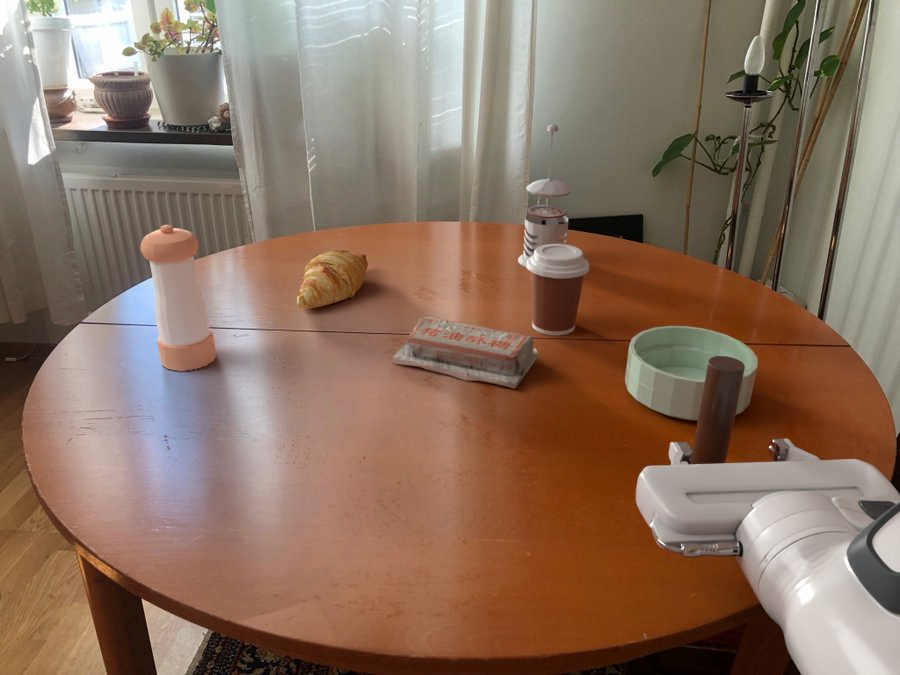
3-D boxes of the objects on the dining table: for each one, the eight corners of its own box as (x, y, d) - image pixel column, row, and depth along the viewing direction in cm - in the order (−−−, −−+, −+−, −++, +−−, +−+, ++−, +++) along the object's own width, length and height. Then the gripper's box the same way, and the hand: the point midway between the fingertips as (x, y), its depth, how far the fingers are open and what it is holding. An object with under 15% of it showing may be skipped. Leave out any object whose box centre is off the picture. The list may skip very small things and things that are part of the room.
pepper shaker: (219, 365, 101) (198, 230, 92) (163, 375, 98) (136, 237, 90) (213, 343, 107) (193, 214, 98) (159, 352, 104) (134, 220, 96)
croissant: (319, 336, 117) (337, 299, 112) (266, 301, 117) (282, 263, 113) (376, 286, 134) (394, 252, 130) (331, 256, 135) (346, 221, 130)
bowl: (706, 359, 103) (712, 320, 100) (774, 416, 90) (784, 373, 87) (605, 372, 100) (609, 332, 97) (661, 433, 86) (667, 388, 84)
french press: (520, 270, 134) (527, 129, 123) (514, 249, 144) (520, 117, 133) (574, 270, 134) (586, 129, 123) (565, 249, 144) (575, 117, 133)
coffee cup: (549, 344, 107) (554, 266, 102) (511, 322, 114) (514, 247, 109) (596, 330, 111) (604, 254, 106) (557, 309, 118) (562, 237, 113)
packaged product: (541, 327, 101) (517, 358, 93) (539, 358, 103) (515, 392, 95) (421, 305, 107) (389, 333, 99) (422, 335, 109) (391, 365, 101)
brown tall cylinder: (707, 486, 77) (733, 350, 70) (731, 513, 74) (762, 371, 67) (669, 492, 76) (692, 355, 69) (692, 520, 73) (718, 377, 66)
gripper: (658, 588, 57) (612, 478, 69) (916, 577, 58) (825, 470, 70) (669, 523, 54) (619, 420, 66) (940, 513, 55) (841, 414, 67)
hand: (727, 446), depth 68 cm, fingers open, 8 cm apart
